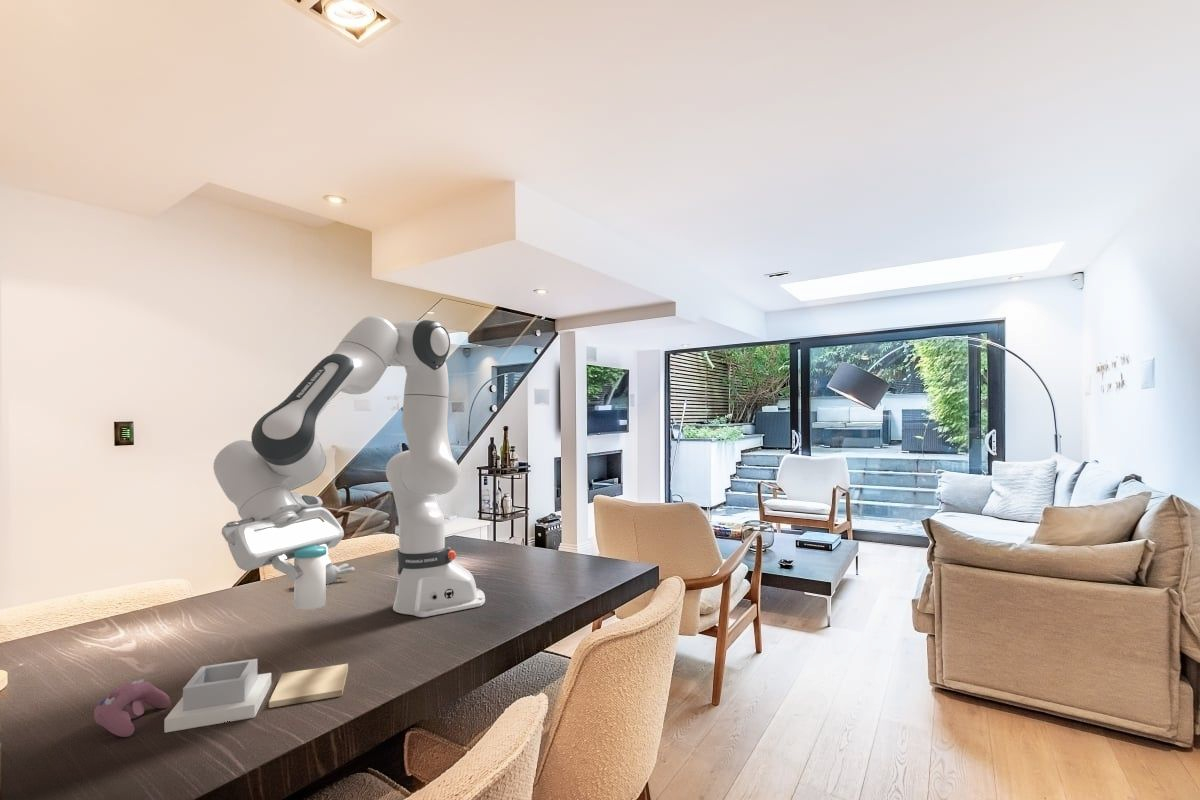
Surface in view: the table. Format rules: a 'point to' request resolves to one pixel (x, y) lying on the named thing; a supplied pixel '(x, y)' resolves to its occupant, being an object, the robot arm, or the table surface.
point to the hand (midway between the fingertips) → (312, 572)
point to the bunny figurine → (337, 572)
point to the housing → (219, 696)
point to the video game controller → (128, 706)
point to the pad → (309, 685)
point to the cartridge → (310, 578)
